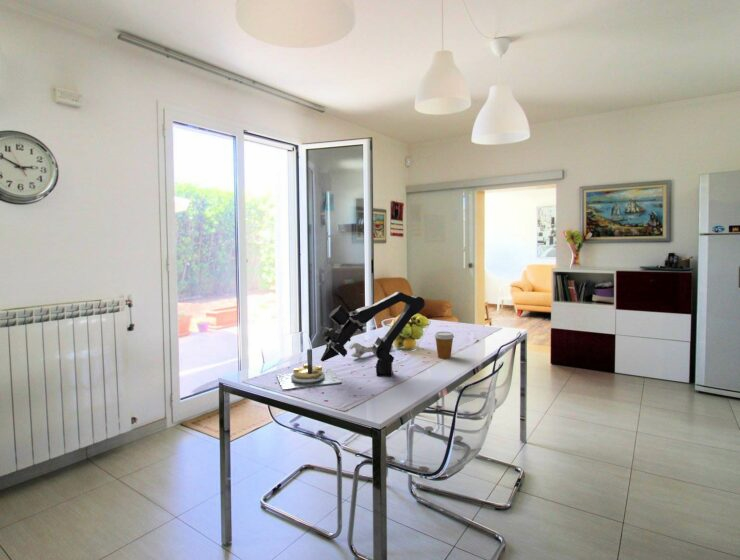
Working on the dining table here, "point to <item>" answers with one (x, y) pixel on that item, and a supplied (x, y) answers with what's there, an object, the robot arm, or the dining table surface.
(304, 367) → the brass chuck with rod
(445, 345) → the disposable coffee cup
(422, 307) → the robot arm
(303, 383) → the gray metal base plate
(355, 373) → the dining table surface
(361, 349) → the wrench
